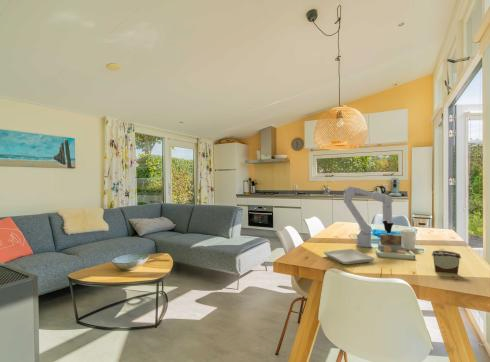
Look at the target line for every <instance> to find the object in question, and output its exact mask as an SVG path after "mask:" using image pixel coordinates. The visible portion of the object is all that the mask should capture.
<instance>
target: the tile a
mask: <svg viewBox="0 0 490 362" xmlns="http://www.w3.org/2000/svg"><path fill="white" fill-rule="evenodd" d="M384 253H391V246H384Z"/></svg>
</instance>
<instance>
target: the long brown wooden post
mask: <svg viewBox="0 0 490 362" xmlns="http://www.w3.org/2000/svg"><path fill="white" fill-rule="evenodd" d="M379 237H380V240H379V242H380V243H381V244H391V245H401V234H389V233H385V234H384V233H383V234H382V233H380V236H379Z"/></svg>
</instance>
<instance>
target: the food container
mask: <svg viewBox="0 0 490 362" xmlns="http://www.w3.org/2000/svg"><path fill="white" fill-rule="evenodd" d="M431 257H433V265H434V272H435V273H438V274H439V273H441V274H450V275H459V268H460V267H459V266H460V259H462V256H461V254H460V253H457V252H454V251H448V250H433V251H432V253H431Z"/></svg>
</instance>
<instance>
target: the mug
mask: <svg viewBox="0 0 490 362" xmlns="http://www.w3.org/2000/svg"><path fill="white" fill-rule="evenodd" d="M400 235H401V243H402V245H403V246H404V247H405V250H409V251H413V250H414V251H415V250H416V246H415V245H416V244H415V243H416V239H417V235H416V231H415V230H412V229H400Z"/></svg>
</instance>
